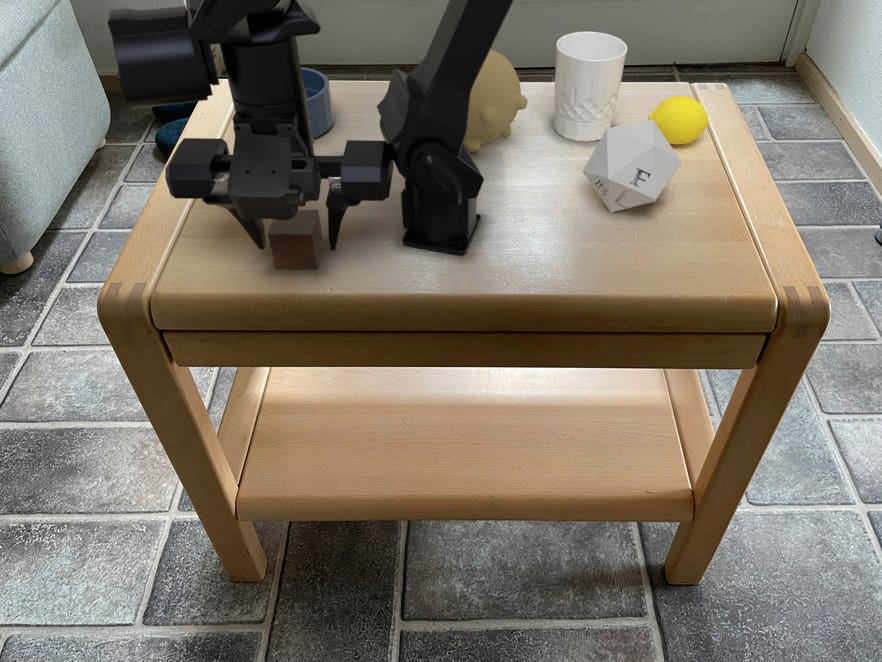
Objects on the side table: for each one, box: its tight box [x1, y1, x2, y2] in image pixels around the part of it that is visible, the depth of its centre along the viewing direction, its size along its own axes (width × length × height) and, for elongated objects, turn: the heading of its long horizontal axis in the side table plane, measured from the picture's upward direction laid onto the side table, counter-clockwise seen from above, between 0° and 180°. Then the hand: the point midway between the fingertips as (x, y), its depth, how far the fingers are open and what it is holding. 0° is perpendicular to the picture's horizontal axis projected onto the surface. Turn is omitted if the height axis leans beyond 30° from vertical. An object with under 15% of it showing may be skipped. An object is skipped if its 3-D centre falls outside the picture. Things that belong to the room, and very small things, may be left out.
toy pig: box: [463, 48, 529, 153], centre depth 85 cm, size 10×12×11 cm
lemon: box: [647, 95, 710, 145], centre depth 86 cm, size 7×5×5 cm
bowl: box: [301, 67, 335, 139], centre depth 88 cm, size 10×10×5 cm
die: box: [582, 119, 683, 213], centre depth 76 cm, size 8×9×10 cm
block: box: [267, 209, 325, 270], centre depth 70 cm, size 4×4×4 cm
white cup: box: [553, 31, 628, 143], centre depth 86 cm, size 8×8×10 cm
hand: (298, 247), depth 71 cm, fingers open, 6 cm apart
